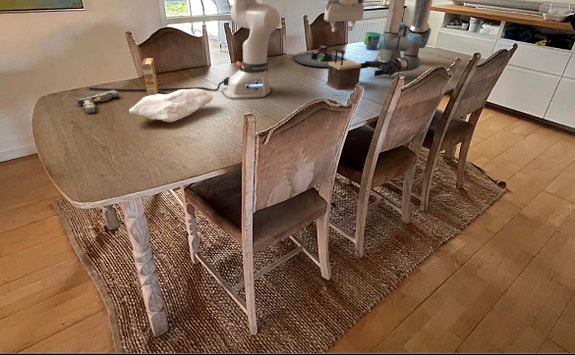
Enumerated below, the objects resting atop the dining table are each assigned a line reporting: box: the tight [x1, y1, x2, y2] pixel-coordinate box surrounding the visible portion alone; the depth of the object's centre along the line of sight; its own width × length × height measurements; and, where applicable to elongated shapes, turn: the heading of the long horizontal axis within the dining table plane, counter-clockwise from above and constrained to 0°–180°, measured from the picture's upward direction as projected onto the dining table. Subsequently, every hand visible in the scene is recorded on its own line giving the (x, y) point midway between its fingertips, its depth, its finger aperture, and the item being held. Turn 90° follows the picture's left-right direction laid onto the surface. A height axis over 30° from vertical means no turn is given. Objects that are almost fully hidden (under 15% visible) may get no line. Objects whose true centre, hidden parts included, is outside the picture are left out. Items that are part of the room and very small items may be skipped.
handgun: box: [76, 90, 120, 114], centre depth 155 cm, size 3×18×15 cm
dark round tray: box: [291, 45, 347, 68], centre depth 225 cm, size 35×35×9 cm
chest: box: [326, 65, 362, 90], centre depth 186 cm, size 13×10×10 cm
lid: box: [328, 47, 361, 70], centre depth 181 cm, size 13×10×9 cm
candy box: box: [141, 57, 160, 96], centre depth 163 cm, size 9×4×15 cm, turn 13°
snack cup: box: [363, 31, 382, 50], centre depth 257 cm, size 16×10×10 cm
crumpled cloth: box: [129, 89, 214, 123], centre depth 147 cm, size 24×35×9 cm
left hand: (342, 30), depth 173 cm, fingers open, 8 cm apart
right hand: (366, 69), depth 190 cm, fingers open, 13 cm apart
